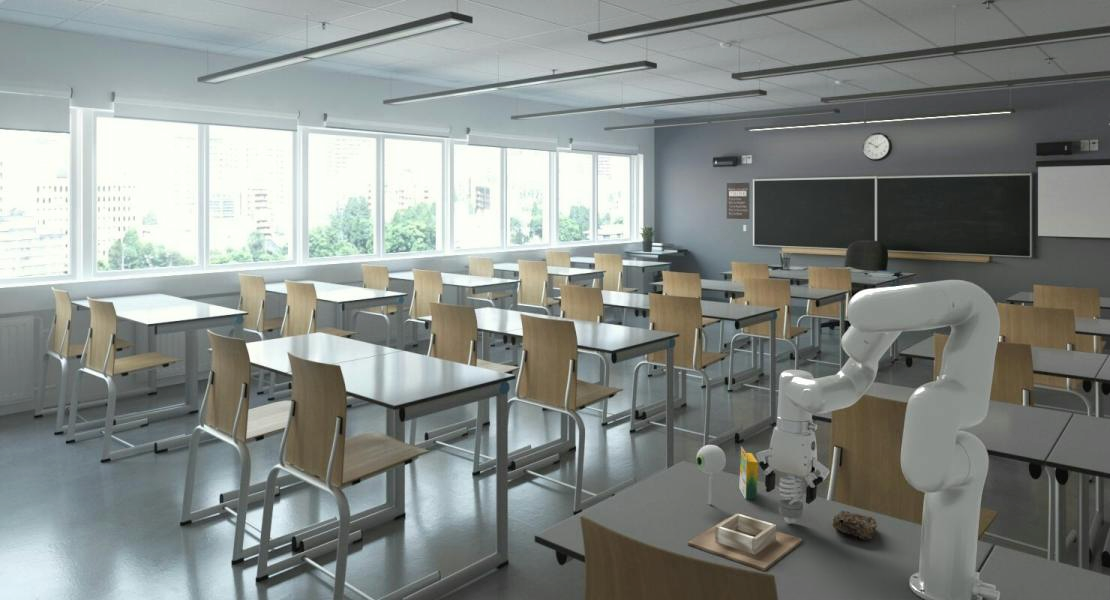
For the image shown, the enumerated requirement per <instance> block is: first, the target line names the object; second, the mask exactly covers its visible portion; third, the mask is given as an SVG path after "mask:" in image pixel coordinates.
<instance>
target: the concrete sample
mask: <svg viewBox="0 0 1110 600" xmlns="http://www.w3.org/2000/svg"><path fill="white" fill-rule="evenodd" d="M832 526H833V528H834V529H835V530H838V531H840V532H842V533H846V534H847V535H853V536H854V537H859V538H860V539H862V540H867V539H868V540H871V539H873V536H876V535H875V534H876V533H875V532H876V531H877V530H876V529H877V527H878V524H877V520H876V519H875V518H874V517H872V516H867V515H862V514H859V513H856V512H850V511H847V510H841V511H839V513H837V514H835V515H834V517H833V521H832Z"/></svg>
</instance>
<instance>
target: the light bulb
mask: <svg viewBox="0 0 1110 600" xmlns="http://www.w3.org/2000/svg"><path fill="white" fill-rule="evenodd" d="M804 479H805V478H804V477H800V476H796V475H792V474H788V473H787V476H781V477H780V478H779V481H780V482H779V487H778V491H779V496H781V497H782V498H781V499H780V500H779V502H778V503H779V504H778V508H779V509H778V511H779V514H780V516H782V517H784V521H785V523H787V524H789V525H792V524H795V523H796V522H797V519H799V518H801V517H802V515H803V511H804V503H803V501H802V500H803V498H804V496H805V492H806V490H805V489H806V487H805V480H804ZM783 497H784V498H783Z"/></svg>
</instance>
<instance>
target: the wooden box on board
mask: <svg viewBox="0 0 1110 600" xmlns="http://www.w3.org/2000/svg"><path fill="white" fill-rule="evenodd" d="M802 542H803V538H800V537H798V536H794V535H791V534H788V533H783V532H781V531H777V524H774V523H772V522H768V521H764V520H760V519H758V518H754V517H751V516H747V515H744V514H740V513H738V512H737V513H735V514H734V515H732V516H728V517H726V518H725V519H723V520H721V521H720V522H719V523H716V525H714V526H712V527H710V528H709V529H707V530H705V531H704V532H703V533H701V534H699V535H697V536H695V537H694V538H693V539H691V540H690V541H688V543H687V545H688V546H691V547H692V548H696V549H699V550H701V551H704V552H708V553H710V554H714V555H717V556H720V557H723V558H726V559H728V560H731V559H732V561H734V562H737V563H740V564H743V565H746V566H749V567H752V568H755V569H757V570H760V571H763V572H765V571H766V570H768V569H769V568H770V567H772V566H773V565H774V564H775V563H777V562H778V561H779V560H781V559H782V558H784V556H786V555H787V554H789V552H791V551H792V550H793V549H795V548H796V547H797V546H799V545H800V544H801V543H802Z"/></svg>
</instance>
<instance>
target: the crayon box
mask: <svg viewBox="0 0 1110 600" xmlns="http://www.w3.org/2000/svg"><path fill="white" fill-rule="evenodd" d="M739 464H740V465H739V466H740V467H739V468H740V469H739V484H738V485H739V486H738V487H739V489H738V490H739V491H740V492H741V494H742V497H743V498H744V499H745V500H753V501H754V500H757V497H758V496H757V495H758V494H757V493H758V476H759V475H758V472H759V462H758V459H757V458H755V456H754V454H753V453H752V452H746V451H745V449H744V448H743V446H741V445H740V463H739Z"/></svg>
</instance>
